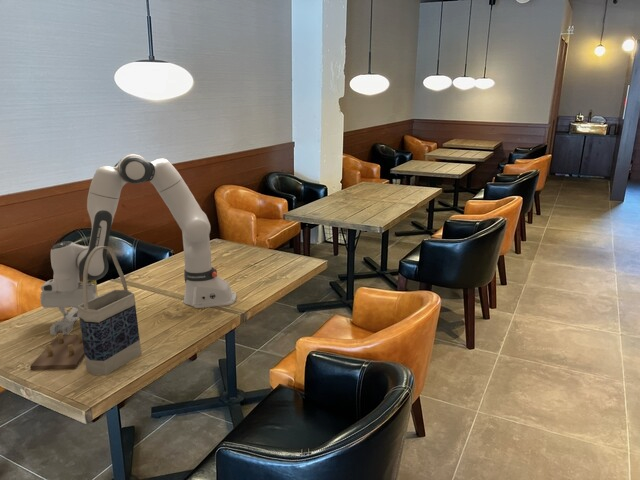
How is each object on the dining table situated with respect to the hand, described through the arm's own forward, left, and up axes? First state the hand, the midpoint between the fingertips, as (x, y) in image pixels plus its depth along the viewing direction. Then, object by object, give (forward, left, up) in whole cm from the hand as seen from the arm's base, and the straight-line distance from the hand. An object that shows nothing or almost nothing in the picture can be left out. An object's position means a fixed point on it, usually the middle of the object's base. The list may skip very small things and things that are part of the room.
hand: (71, 316), depth 197 cm
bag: (-26, +34, -2) cm, 43 cm away
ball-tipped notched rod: (0, 0, -2) cm, 2 cm away
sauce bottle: (-1, -18, -2) cm, 18 cm away
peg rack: (-8, +26, -2) cm, 28 cm away
